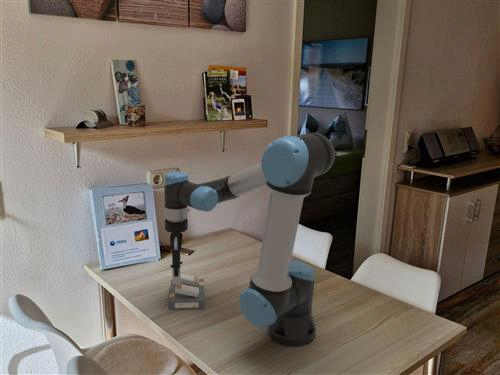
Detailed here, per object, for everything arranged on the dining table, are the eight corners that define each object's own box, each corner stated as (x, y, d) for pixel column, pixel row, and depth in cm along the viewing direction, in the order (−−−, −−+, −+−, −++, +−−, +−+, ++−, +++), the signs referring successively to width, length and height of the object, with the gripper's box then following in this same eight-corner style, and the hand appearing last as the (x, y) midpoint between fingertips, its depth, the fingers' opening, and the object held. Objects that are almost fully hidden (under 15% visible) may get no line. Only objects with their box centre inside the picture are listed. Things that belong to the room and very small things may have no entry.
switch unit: (204, 308, 151) (204, 298, 150) (168, 310, 149) (168, 299, 148) (203, 286, 166) (203, 276, 165) (171, 287, 165) (171, 277, 164)
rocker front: (197, 297, 152) (199, 292, 152) (174, 292, 150) (176, 288, 150) (197, 291, 156) (198, 287, 155) (175, 286, 154) (176, 282, 154)
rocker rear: (197, 286, 160) (198, 282, 159) (175, 281, 158) (177, 277, 158) (197, 281, 163) (198, 277, 163) (176, 276, 162) (177, 272, 162)
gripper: (187, 225, 140) (187, 292, 146) (188, 212, 152) (187, 274, 159) (163, 225, 139) (164, 292, 145) (165, 212, 151) (166, 274, 158)
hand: (176, 283), depth 152 cm, fingers closed
